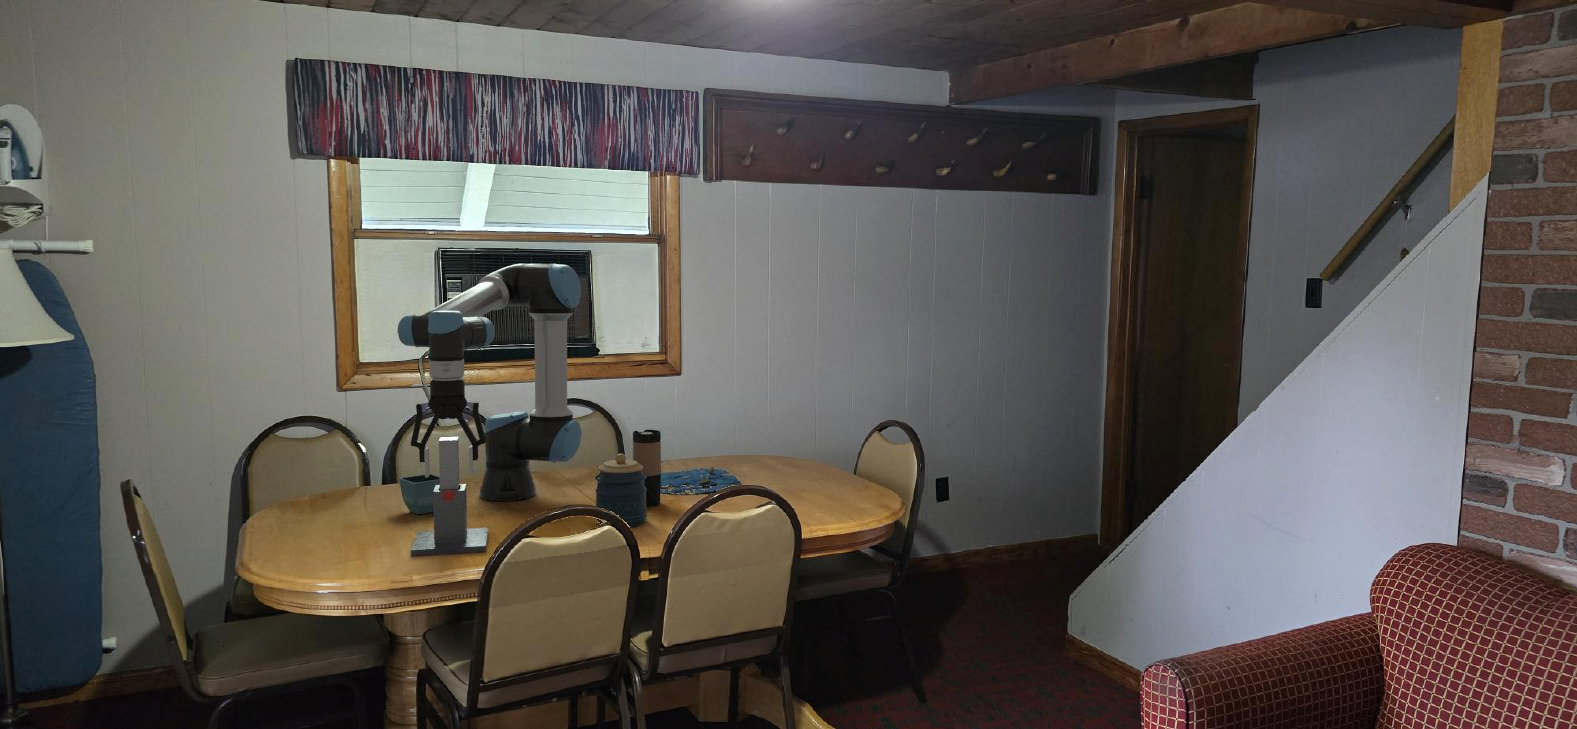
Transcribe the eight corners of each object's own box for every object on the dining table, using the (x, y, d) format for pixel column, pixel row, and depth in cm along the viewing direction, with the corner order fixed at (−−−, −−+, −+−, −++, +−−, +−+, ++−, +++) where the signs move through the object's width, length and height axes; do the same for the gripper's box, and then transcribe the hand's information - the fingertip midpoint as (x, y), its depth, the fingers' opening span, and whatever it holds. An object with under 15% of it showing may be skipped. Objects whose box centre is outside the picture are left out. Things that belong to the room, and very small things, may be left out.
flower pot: (431, 505, 273) (430, 473, 272) (446, 512, 266) (446, 478, 265) (399, 511, 267) (398, 477, 266) (414, 517, 260) (413, 483, 259)
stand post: (441, 539, 234) (438, 440, 232) (442, 534, 238) (440, 437, 236) (459, 538, 235) (457, 440, 233) (460, 533, 239) (458, 436, 237)
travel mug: (655, 508, 272) (655, 434, 270) (628, 506, 274) (628, 433, 272) (664, 501, 280) (664, 430, 278) (638, 500, 281) (638, 428, 279)
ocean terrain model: (706, 506, 282) (706, 488, 281) (621, 491, 297) (621, 474, 296) (762, 482, 307) (762, 465, 307) (681, 469, 322) (681, 453, 321)
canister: (601, 515, 265) (600, 448, 263) (650, 516, 265) (650, 449, 263) (590, 528, 252) (589, 458, 250) (642, 529, 252) (641, 459, 250)
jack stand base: (411, 556, 227) (409, 497, 226) (418, 537, 242) (416, 481, 241) (485, 552, 231) (484, 494, 230) (488, 533, 246) (487, 478, 245)
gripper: (394, 381, 226) (397, 480, 229) (496, 379, 232) (498, 476, 234) (398, 377, 233) (401, 473, 236) (497, 375, 239) (498, 469, 241)
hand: (449, 475), depth 235 cm, fingers open, 9 cm apart
